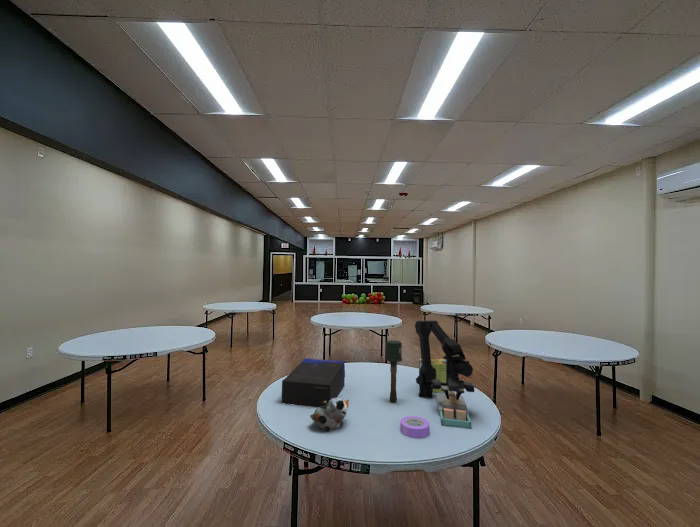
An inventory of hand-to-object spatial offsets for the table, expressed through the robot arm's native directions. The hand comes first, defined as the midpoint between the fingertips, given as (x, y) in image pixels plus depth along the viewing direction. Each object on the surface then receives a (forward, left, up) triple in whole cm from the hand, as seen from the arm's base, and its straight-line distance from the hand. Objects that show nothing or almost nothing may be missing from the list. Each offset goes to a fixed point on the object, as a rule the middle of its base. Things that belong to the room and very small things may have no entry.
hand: (452, 404), depth 147 cm
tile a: (-3, -8, -1) cm, 8 cm away
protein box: (-7, +30, -4) cm, 31 cm away
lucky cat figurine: (-52, -26, -4) cm, 59 cm away
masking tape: (-17, -23, -4) cm, 29 cm away
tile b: (+3, -8, -1) cm, 9 cm away
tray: (0, -11, -4) cm, 12 cm away
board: (0, +4, -4) cm, 5 cm away
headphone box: (-69, +6, -4) cm, 70 cm away
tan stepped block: (0, -1, -1) cm, 1 cm away
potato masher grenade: (-28, +5, -4) cm, 29 cm away
